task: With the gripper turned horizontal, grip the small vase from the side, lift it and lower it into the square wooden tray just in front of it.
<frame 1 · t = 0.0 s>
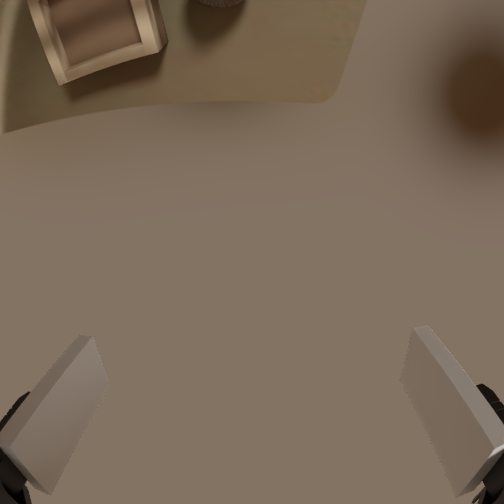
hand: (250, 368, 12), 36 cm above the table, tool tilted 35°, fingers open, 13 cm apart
square wooden tray: (104, 10, 26), on the table
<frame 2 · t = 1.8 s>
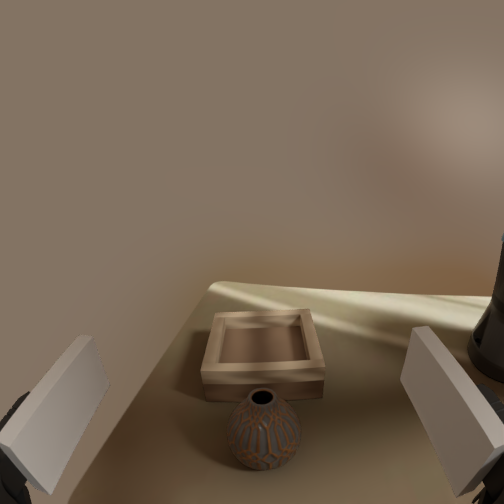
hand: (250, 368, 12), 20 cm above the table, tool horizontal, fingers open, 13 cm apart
square wooden tray: (263, 366, 41), on the table
vase: (265, 454, 27), on the table
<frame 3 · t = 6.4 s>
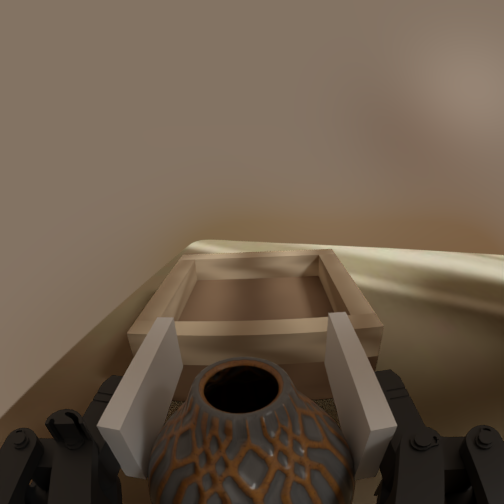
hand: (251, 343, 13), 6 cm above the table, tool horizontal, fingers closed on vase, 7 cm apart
square wooden tray: (258, 340, 24), on the table
when the fingers open (10 cm above the table, at t = 11.9 s): vase drops 1 cm, resting on square wooden tray.
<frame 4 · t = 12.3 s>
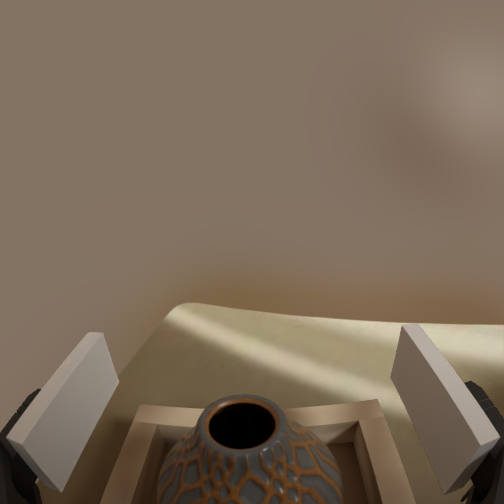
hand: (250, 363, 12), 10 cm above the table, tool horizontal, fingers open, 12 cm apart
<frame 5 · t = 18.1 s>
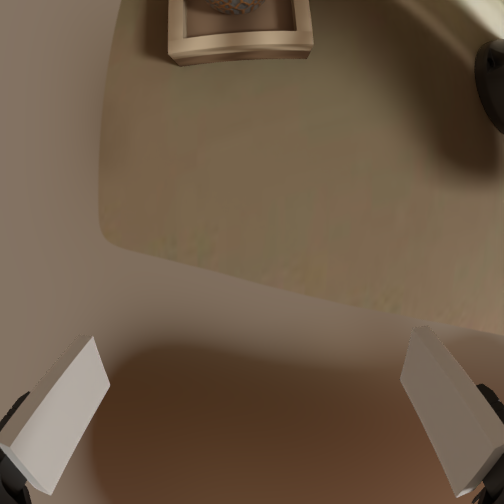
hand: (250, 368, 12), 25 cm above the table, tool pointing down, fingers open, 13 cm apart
square wooden tray: (240, 8, 27), on the table
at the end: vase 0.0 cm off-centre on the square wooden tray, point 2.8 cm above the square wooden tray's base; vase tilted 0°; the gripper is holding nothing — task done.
